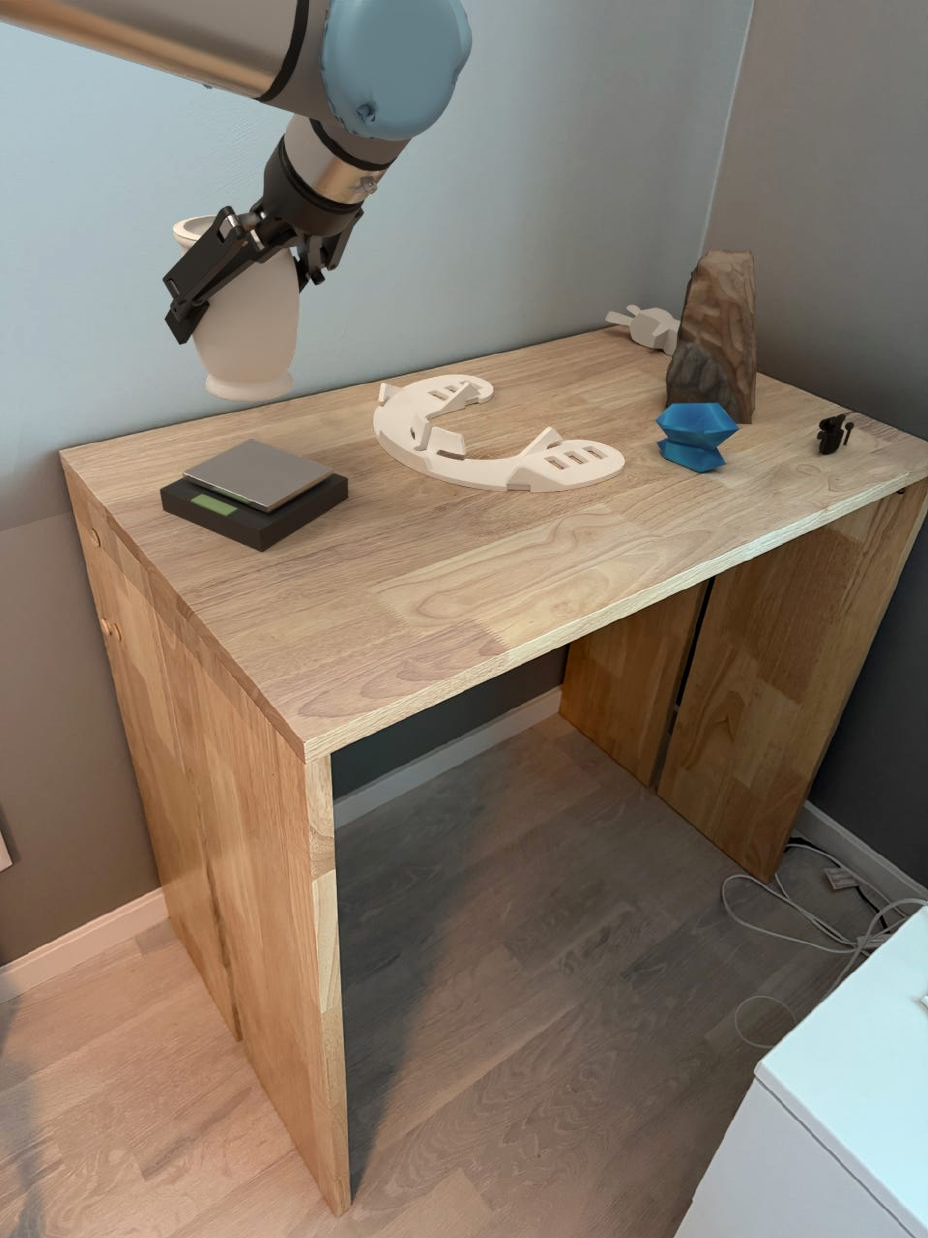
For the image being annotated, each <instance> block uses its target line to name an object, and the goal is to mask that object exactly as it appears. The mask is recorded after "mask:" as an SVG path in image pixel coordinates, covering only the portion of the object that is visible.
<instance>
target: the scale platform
mask: <svg viewBox="0 0 928 1238" xmlns="http://www.w3.org/2000/svg"><path fill="white" fill-rule="evenodd" d="M334 473H335V472H334V468H332V467H330V466H327V465H324V464H322V463H319V462H316V461H314V460H310V459H308V458H305V457H302V456H300V455H297V454H294V453H292V452H288V451H285V450H283V449H280V448H277V447H274V446H272V445H270V444H266V443H264V442H261V441H258V440H255V439H252V438H249V439H247V440H245V441H243V442H241V443H238V444H237V445H235V446H233V447H231V448H229V449H227V450H225V451H222V452H221V453H218V454H216V455H215V456H212V457H211V458H208V459H207V460H203V462H200V463H198V464H196V465H194V466H192V467H190V468H188V469H186V470H184V471H182V472H181V475H182V478H183V479H185V480H187V481H190V482H192V483H195V484H197V485H200V486H202V487H205V488H207V489H210V490H212V491H215V492H217V493H219V494H222V495H224V496H227V497H229V498H232V499H234V500H237V501H239V502H242V503H244V504H247V505H249V506H252V507H254V508H257V509H259V510H262V511H264V512H267V513H269V512H271V511H273V510H275V509H276V508H278V507H280V506H281V505H283V504H285V503H287V502H288V501H290V500H292V499H293V498H295V497H297V496H298V495H300V494H302V493H304V492H305V491H307V490H309V489H310V488H312V487H314V486H316V485H317V484H319V483H321V482H322V481H324V480H326V479H327V478H329V477H331V476H333V475H334Z"/></svg>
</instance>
